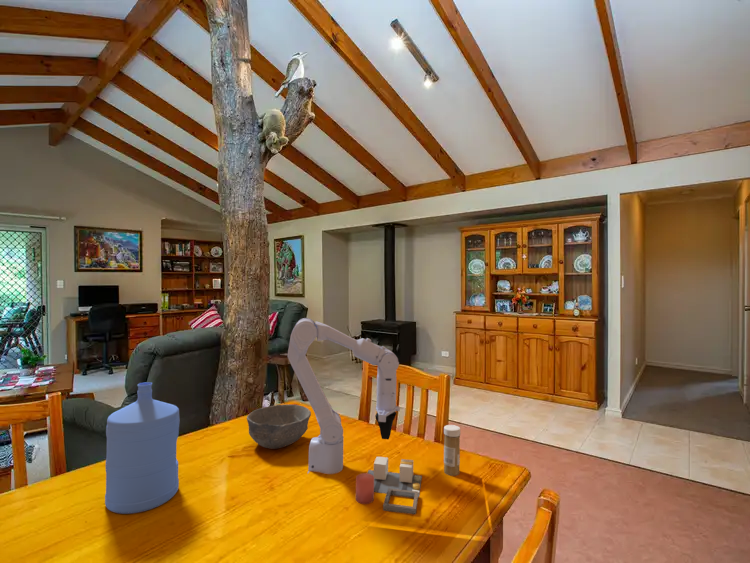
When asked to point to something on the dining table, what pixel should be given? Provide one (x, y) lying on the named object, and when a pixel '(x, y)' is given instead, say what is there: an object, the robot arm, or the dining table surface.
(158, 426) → the water jug
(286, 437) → the bowl
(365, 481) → the cap
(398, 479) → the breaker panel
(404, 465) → the toggle
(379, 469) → the toggle
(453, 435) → the sprinkles bottle
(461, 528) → the dining table surface
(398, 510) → the frame
